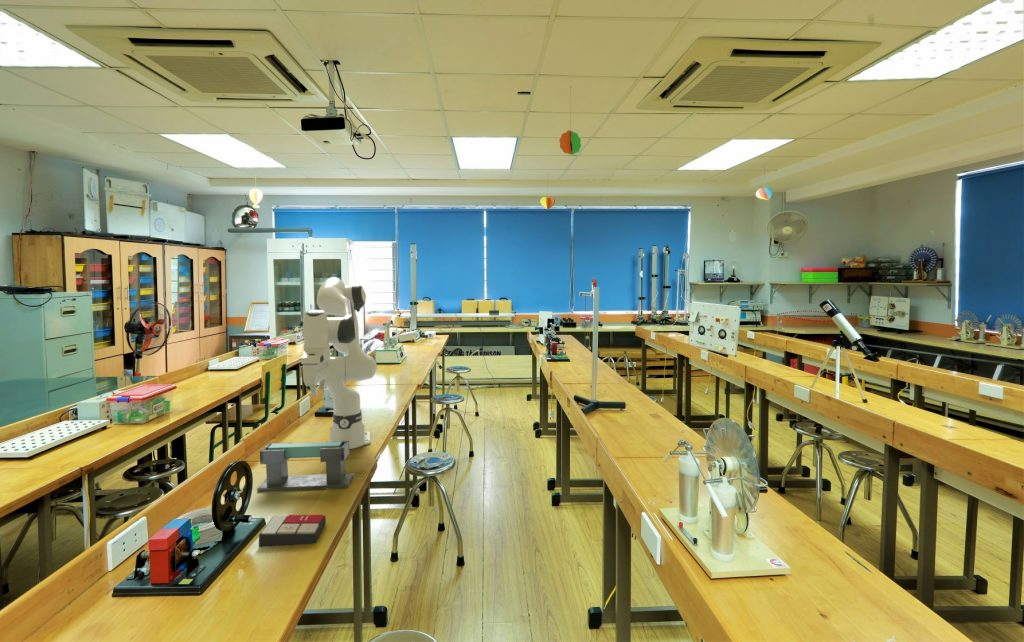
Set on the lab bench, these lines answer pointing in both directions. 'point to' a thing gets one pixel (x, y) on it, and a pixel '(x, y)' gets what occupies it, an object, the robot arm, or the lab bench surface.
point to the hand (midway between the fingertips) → (318, 392)
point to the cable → (206, 531)
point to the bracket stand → (282, 481)
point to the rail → (304, 449)
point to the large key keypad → (292, 530)
